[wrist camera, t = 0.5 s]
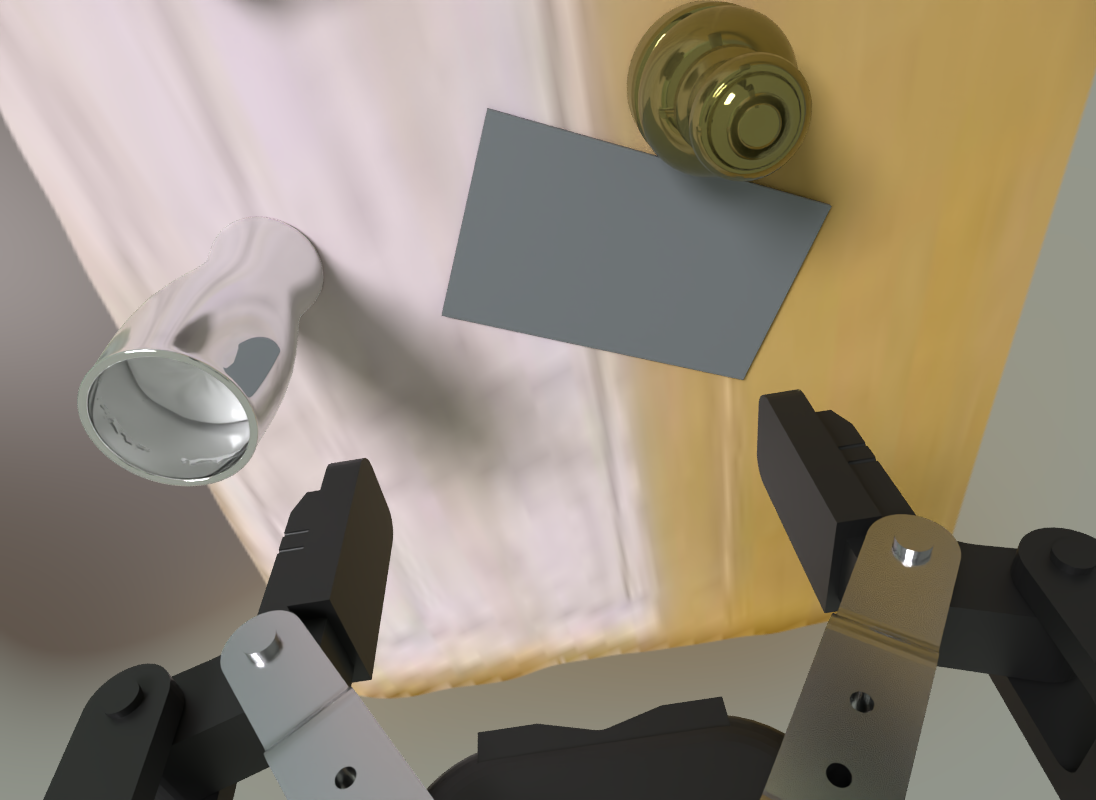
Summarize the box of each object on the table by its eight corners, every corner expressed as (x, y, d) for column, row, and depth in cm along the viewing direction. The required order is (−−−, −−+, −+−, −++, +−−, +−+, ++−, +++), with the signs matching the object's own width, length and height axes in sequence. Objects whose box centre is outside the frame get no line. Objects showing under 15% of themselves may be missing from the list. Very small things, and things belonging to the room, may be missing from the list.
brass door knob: (710, 179, 38) (771, 248, 30) (597, 111, 36) (630, 165, 28) (797, 50, 35) (894, 87, 27) (679, -36, 33) (745, -23, 24)
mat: (487, 108, 35) (487, 109, 35) (829, 204, 40) (831, 206, 39) (442, 313, 42) (441, 315, 41) (741, 377, 46) (742, 379, 46)
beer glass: (195, 199, 37) (50, 335, 25) (331, 215, 38) (256, 354, 26) (210, 316, 41) (90, 485, 28) (333, 328, 42) (269, 496, 29)
